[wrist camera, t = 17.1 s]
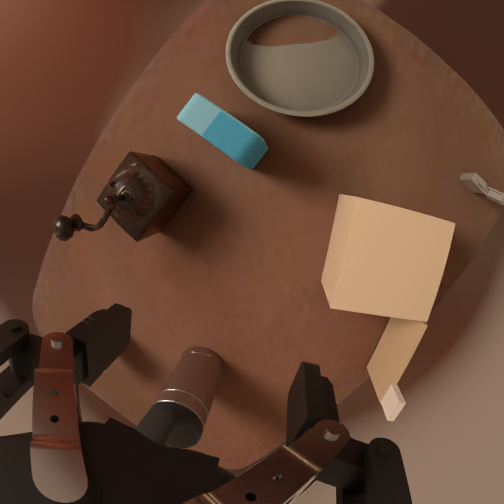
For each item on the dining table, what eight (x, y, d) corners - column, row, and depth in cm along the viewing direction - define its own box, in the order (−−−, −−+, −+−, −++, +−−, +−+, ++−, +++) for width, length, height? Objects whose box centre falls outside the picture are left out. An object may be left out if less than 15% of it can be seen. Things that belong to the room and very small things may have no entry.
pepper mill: (152, 151, 48) (94, 139, 31) (195, 189, 49) (149, 193, 32) (107, 215, 52) (45, 230, 35) (145, 253, 53) (89, 283, 35)
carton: (401, 294, 49) (427, 321, 37) (321, 280, 50) (330, 307, 38) (421, 214, 45) (455, 223, 34) (339, 194, 47) (356, 196, 35)
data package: (197, 130, 47) (172, 116, 35) (213, 110, 46) (192, 89, 34) (252, 170, 47) (242, 166, 36) (269, 149, 46) (264, 138, 35)
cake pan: (393, 67, 40) (401, 58, 36) (305, 151, 46) (307, 148, 42) (292, -9, 38) (292, -22, 34) (202, 65, 44) (195, 56, 40)
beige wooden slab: (403, 298, 49) (442, 340, 33) (370, 367, 53) (391, 423, 36) (398, 296, 49) (436, 339, 33) (365, 367, 53) (385, 422, 36)
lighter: (459, 179, 43) (483, 180, 35) (463, 172, 42) (486, 172, 35) (480, 202, 43) (504, 205, 35) (484, 195, 43) (508, 198, 35)
